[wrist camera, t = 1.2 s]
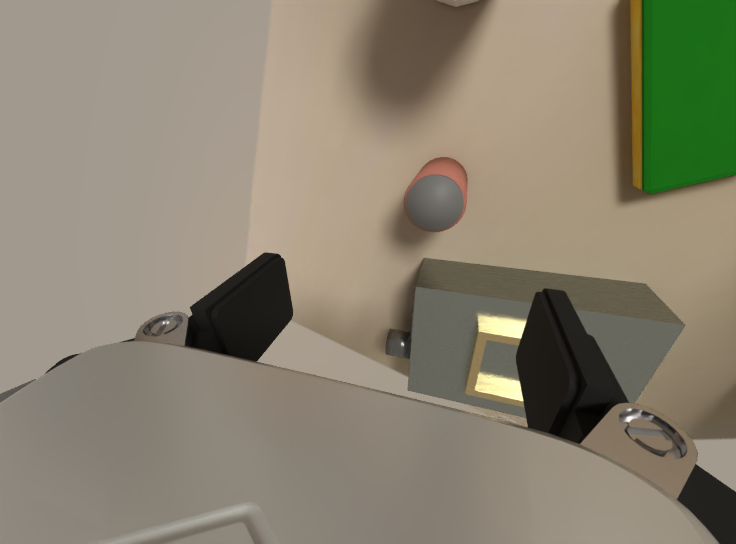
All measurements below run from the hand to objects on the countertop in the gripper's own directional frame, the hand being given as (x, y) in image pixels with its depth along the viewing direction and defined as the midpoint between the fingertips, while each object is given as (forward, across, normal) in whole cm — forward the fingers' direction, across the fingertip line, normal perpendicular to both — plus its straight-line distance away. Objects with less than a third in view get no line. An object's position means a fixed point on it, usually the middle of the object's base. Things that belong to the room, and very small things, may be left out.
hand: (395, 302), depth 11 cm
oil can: (+20, 0, 0) cm, 20 cm away
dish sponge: (+21, -16, -8) cm, 28 cm away
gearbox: (+20, -8, +15) cm, 26 cm away
